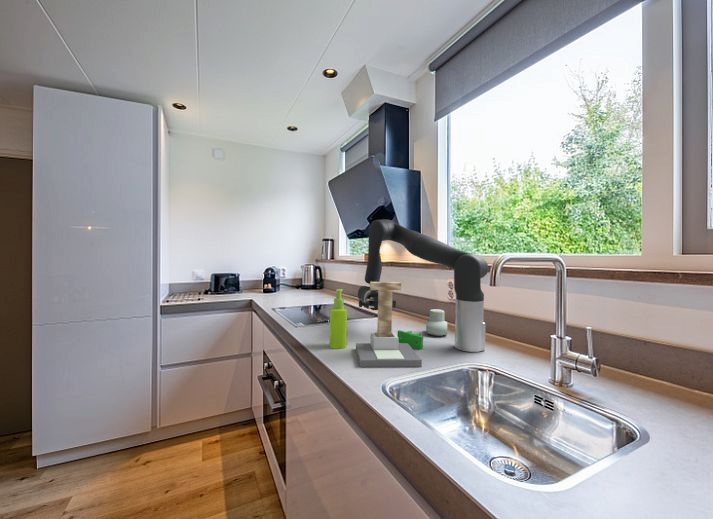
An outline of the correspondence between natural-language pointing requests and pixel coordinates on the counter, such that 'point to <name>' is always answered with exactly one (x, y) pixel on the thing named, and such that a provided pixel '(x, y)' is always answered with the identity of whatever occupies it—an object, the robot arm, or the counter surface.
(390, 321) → the T-key
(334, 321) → the soap dispenser
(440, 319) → the air freshener
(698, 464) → the counter surface
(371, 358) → the grey base plate
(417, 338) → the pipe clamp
